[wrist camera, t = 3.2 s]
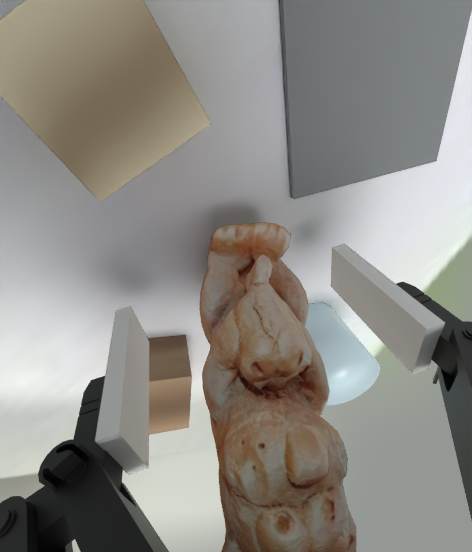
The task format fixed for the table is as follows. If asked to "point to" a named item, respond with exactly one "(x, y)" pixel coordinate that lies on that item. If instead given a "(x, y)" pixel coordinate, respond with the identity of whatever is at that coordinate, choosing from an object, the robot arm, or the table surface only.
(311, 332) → the pale blue rounded block
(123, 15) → the beech block
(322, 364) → the figurine
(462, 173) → the table surface
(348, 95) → the grey mat
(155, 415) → the walnut block
